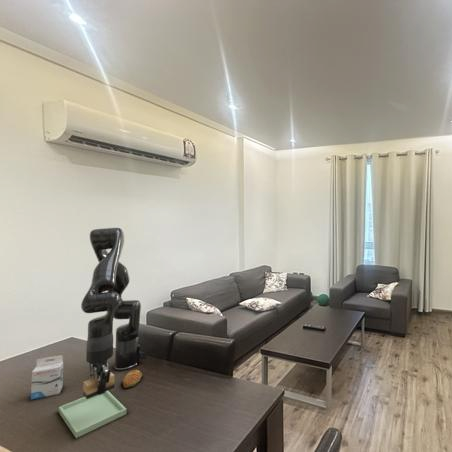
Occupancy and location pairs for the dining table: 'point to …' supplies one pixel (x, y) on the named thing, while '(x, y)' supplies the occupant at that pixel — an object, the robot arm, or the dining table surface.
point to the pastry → (132, 378)
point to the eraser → (96, 386)
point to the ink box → (47, 377)
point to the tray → (91, 413)
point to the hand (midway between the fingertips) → (99, 390)
